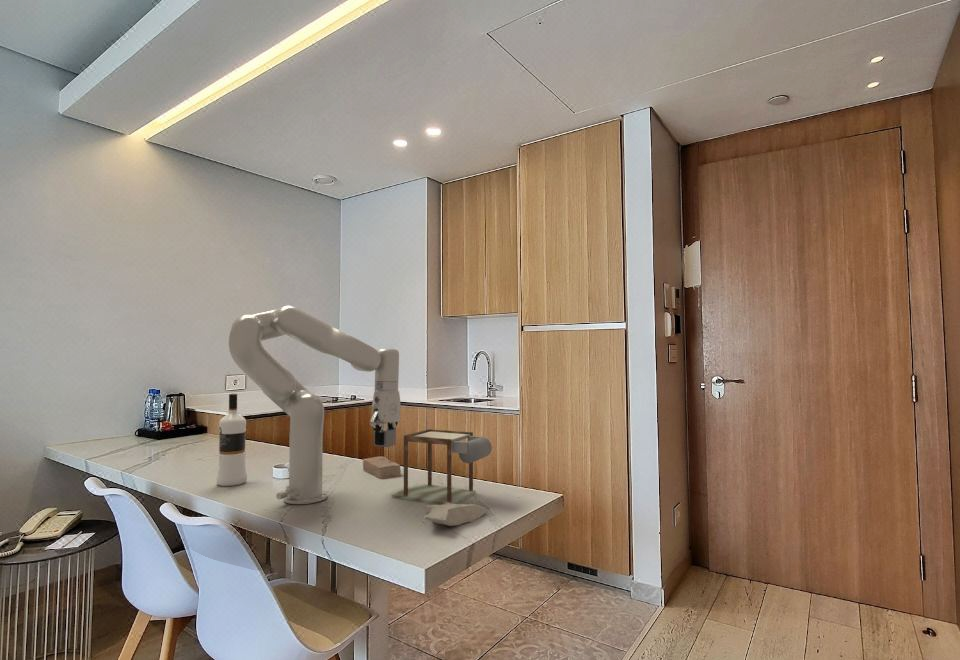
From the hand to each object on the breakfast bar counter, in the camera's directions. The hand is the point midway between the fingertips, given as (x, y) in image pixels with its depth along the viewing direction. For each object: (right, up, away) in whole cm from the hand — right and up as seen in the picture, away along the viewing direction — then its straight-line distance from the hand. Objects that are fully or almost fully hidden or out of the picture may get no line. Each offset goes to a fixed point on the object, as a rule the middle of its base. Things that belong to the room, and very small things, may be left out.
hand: (384, 443), depth 170 cm
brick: (-5, -16, +22) cm, 27 cm away
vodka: (-53, -15, +7) cm, 55 cm away
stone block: (0, -1, 0) cm, 1 cm away
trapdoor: (+22, -2, -10) cm, 25 cm away
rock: (+22, -14, -31) cm, 41 cm away
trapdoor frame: (+17, -14, -8) cm, 23 cm away
